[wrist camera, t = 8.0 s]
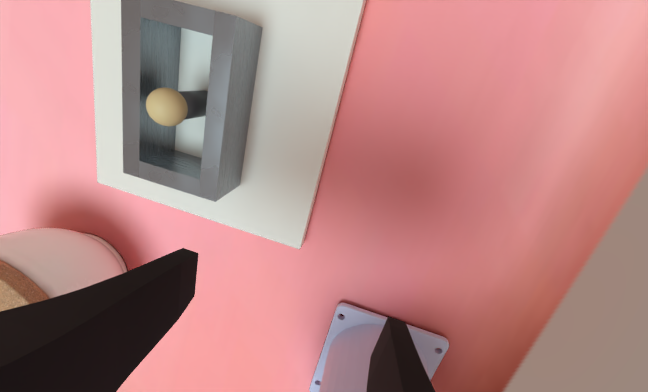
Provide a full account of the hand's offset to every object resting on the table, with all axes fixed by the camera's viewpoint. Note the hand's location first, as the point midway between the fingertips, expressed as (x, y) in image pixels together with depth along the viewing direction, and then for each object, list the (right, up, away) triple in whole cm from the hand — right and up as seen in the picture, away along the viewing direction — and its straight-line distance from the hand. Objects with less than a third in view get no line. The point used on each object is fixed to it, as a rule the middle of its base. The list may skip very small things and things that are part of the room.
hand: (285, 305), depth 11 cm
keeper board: (-5, +10, +8) cm, 13 cm away
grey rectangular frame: (-6, +10, +7) cm, 13 cm away
